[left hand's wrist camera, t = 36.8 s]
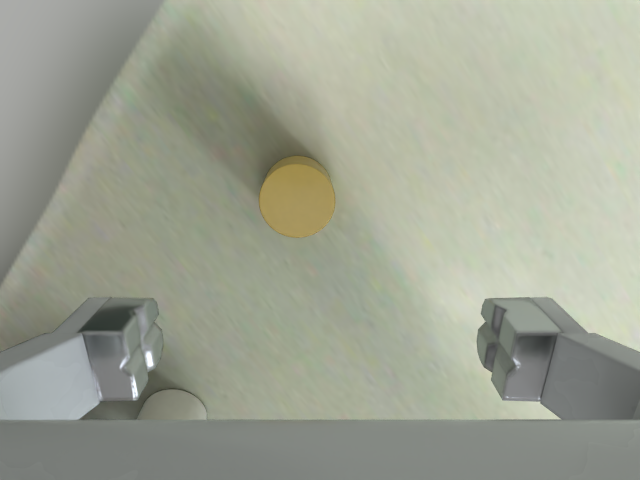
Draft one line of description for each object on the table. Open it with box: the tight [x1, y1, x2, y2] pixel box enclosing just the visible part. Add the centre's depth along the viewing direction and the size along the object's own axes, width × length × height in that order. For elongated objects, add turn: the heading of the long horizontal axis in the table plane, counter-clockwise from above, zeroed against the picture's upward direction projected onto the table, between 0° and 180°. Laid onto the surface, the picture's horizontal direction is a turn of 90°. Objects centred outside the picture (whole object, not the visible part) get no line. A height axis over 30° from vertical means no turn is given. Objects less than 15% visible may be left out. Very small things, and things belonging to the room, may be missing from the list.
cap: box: [259, 156, 335, 238], centre depth 22 cm, size 4×4×3 cm
